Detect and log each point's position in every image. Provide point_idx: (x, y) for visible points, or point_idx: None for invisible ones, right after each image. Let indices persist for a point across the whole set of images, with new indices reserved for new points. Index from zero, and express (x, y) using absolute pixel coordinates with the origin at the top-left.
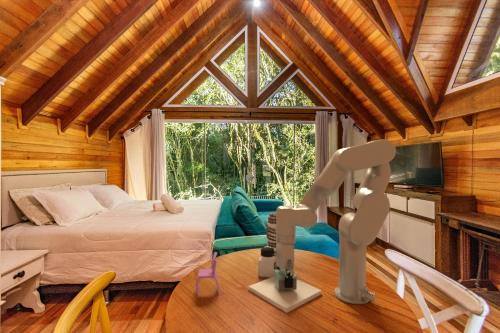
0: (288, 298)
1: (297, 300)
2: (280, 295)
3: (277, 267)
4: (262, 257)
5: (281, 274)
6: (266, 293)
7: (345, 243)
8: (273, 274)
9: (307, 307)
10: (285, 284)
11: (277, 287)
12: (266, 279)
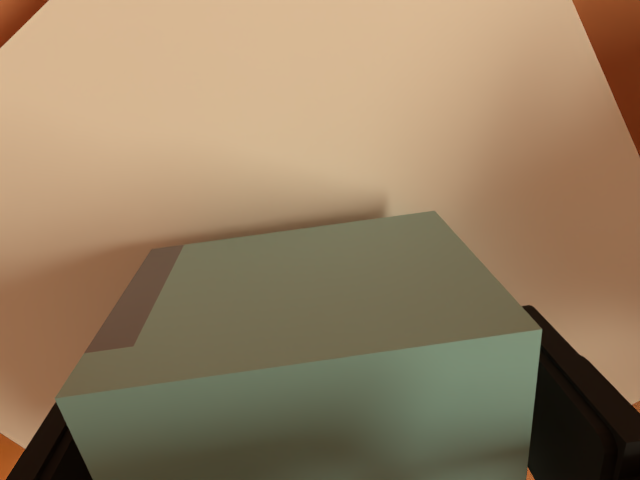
0: (39, 333)
1: (17, 413)
2: (104, 249)
3: (624, 425)
4: None
5: (247, 459)
6: (128, 43)
7: None
8: None
9: (12, 449)
10: (56, 415)
11: (214, 247)
12: (610, 105)
